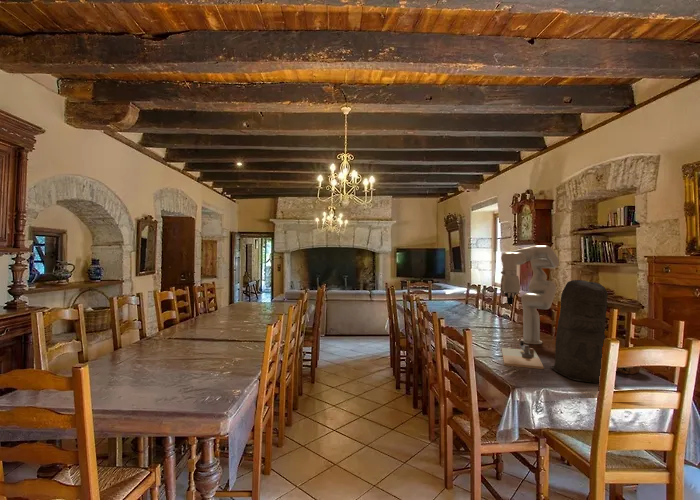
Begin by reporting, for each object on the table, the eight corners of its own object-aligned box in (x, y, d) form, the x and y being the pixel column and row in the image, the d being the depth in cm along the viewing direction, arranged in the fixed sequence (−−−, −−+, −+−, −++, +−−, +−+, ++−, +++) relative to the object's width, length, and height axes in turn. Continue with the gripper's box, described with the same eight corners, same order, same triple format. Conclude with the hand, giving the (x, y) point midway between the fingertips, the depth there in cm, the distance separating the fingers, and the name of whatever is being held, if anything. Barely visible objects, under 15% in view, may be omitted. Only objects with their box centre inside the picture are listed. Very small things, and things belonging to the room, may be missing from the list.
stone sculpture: (557, 382, 168) (567, 284, 163) (548, 365, 187) (557, 276, 183) (619, 392, 160) (631, 289, 156) (603, 373, 180) (614, 281, 175)
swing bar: (528, 352, 203) (528, 345, 203) (524, 352, 203) (524, 345, 203) (523, 346, 215) (523, 340, 215) (519, 346, 216) (519, 340, 216)
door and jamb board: (501, 349, 222) (501, 336, 222) (534, 352, 216) (534, 339, 216) (504, 365, 190) (504, 350, 190) (543, 369, 184) (543, 353, 184)
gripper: (500, 273, 219) (500, 305, 219) (525, 273, 220) (525, 304, 219) (494, 273, 226) (495, 303, 226) (518, 272, 227) (519, 303, 227)
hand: (510, 303), depth 223 cm, fingers closed
